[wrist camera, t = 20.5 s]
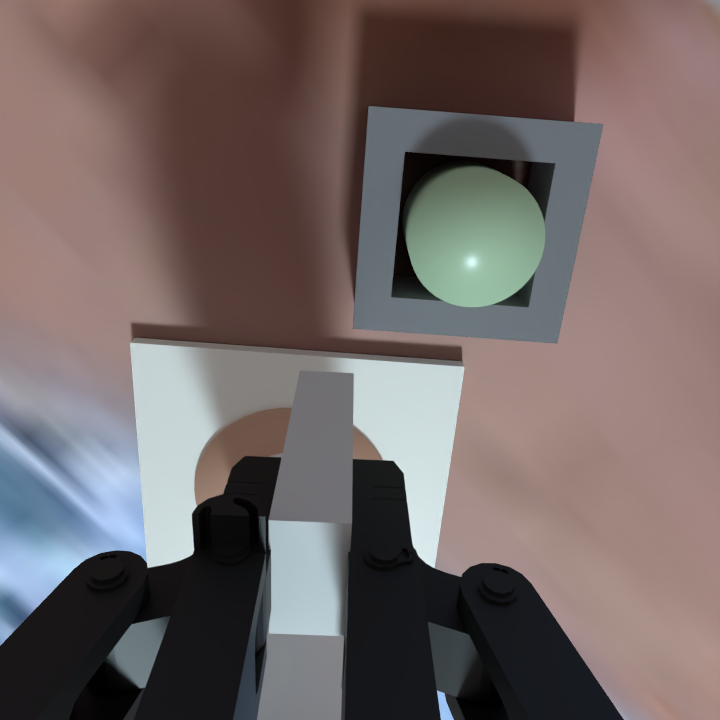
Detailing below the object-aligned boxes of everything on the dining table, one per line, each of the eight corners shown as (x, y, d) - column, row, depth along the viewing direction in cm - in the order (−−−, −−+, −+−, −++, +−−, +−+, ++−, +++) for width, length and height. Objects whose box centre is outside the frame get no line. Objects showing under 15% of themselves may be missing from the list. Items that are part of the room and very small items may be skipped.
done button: (397, 272, 24) (402, 302, 21) (408, 155, 23) (416, 166, 19) (507, 280, 24) (532, 311, 21) (527, 165, 23) (557, 177, 19)
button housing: (354, 303, 25) (352, 328, 23) (368, 105, 22) (368, 106, 20) (536, 317, 26) (557, 343, 23) (574, 121, 23) (603, 124, 20)
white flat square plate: (153, 592, 31) (148, 604, 31) (134, 337, 26) (128, 344, 25) (425, 610, 32) (427, 622, 31) (462, 361, 26) (465, 368, 26)
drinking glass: (218, 547, 29) (83, 944, 15) (223, 423, 27) (66, 766, 13) (358, 562, 30) (349, 966, 16) (377, 440, 27) (385, 796, 13)
